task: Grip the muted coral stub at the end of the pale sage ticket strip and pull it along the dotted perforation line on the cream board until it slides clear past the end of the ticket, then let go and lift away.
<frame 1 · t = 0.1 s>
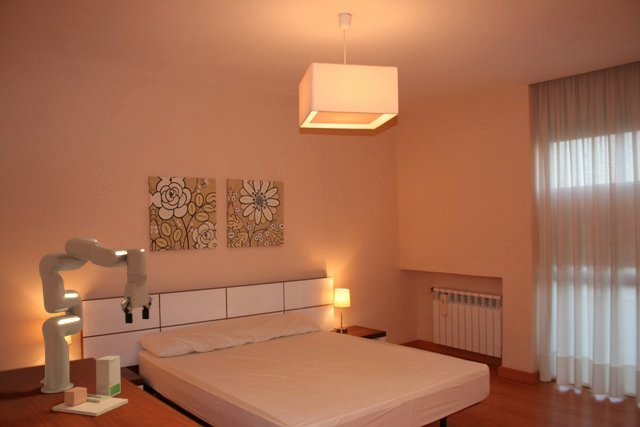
hand: (137, 321, 206), 31 cm above the table, tool pointing down, fingers open, 9 cm apart
stub: (75, 396, 198), point 4 cm above the table, slide at 0.0 cm
ticket board: (91, 406, 197), on the table
skincare box: (108, 395, 211), on the table
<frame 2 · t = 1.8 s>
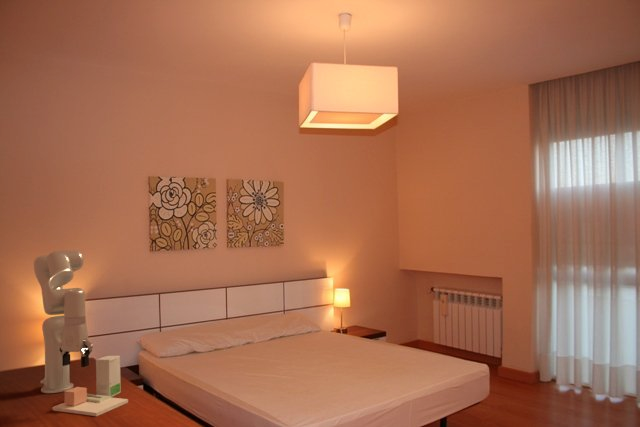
hand: (75, 365, 198), 16 cm above the table, tool pointing down, fingers open, 9 cm apart
nothing on the table moved.
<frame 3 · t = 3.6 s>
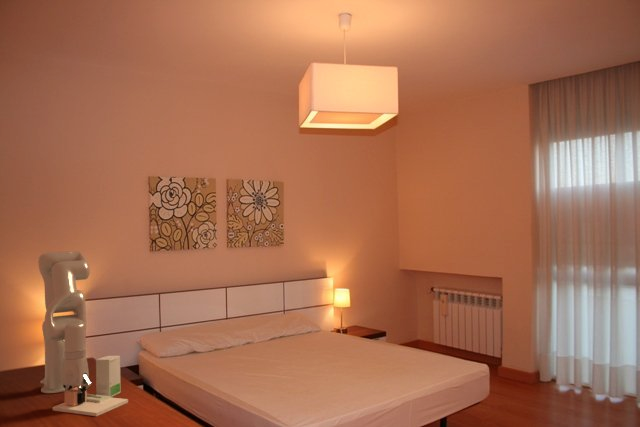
hand: (75, 401, 198), 2 cm above the table, tool pointing down, fingers closed on stub, 5 cm apart
stub: (75, 396, 198), point 4 cm above the table, slide at 0.0 cm, touching gripper
everything else where it was.
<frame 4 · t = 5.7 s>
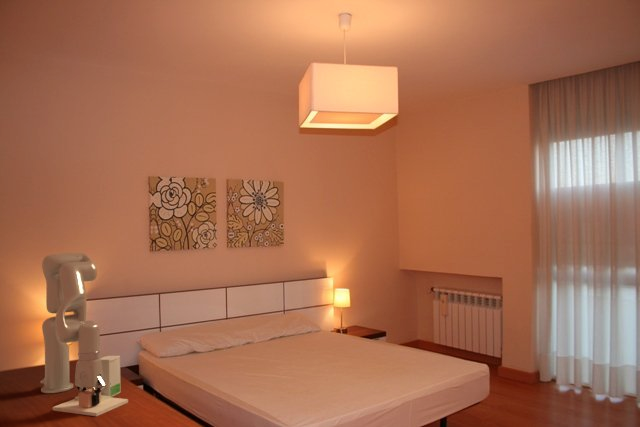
hand: (89, 403, 195), 2 cm above the table, tool pointing down, fingers closed on stub, 5 cm apart
stub: (89, 397, 195), point 4 cm above the table, slide at 7.3 cm, touching gripper
everything else where it was.
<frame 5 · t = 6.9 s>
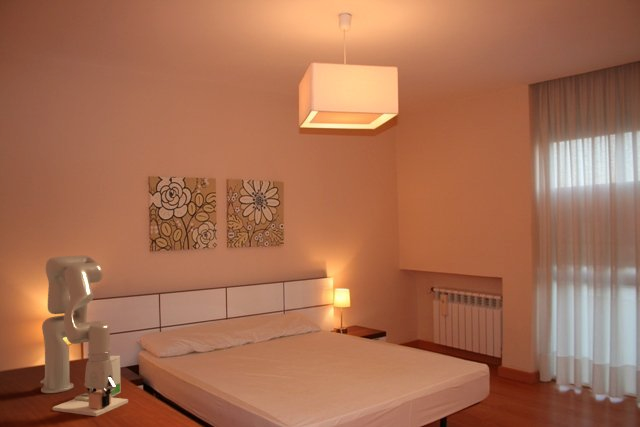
hand: (100, 404, 193), 2 cm above the table, tool pointing down, fingers closed on stub, 5 cm apart
stub: (99, 398, 193), point 4 cm above the table, slide at 12.3 cm, touching gripper
everything else where it was.
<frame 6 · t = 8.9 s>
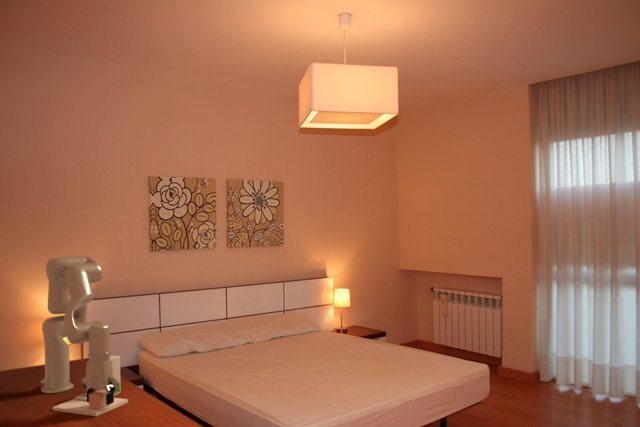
hand: (100, 402, 193), 3 cm above the table, tool pointing down, fingers open, 9 cm apart
stub: (100, 399, 193), point 4 cm above the table, slide at 12.5 cm
everything else where it was.
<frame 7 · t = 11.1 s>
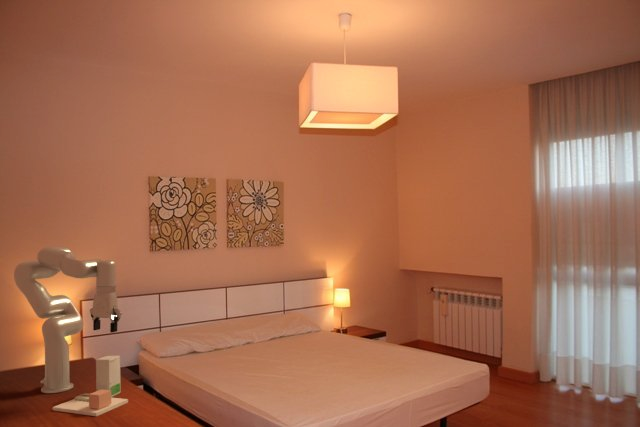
hand: (105, 330, 213), 26 cm above the table, tool pointing down, fingers open, 9 cm apart
nothing on the table moved.
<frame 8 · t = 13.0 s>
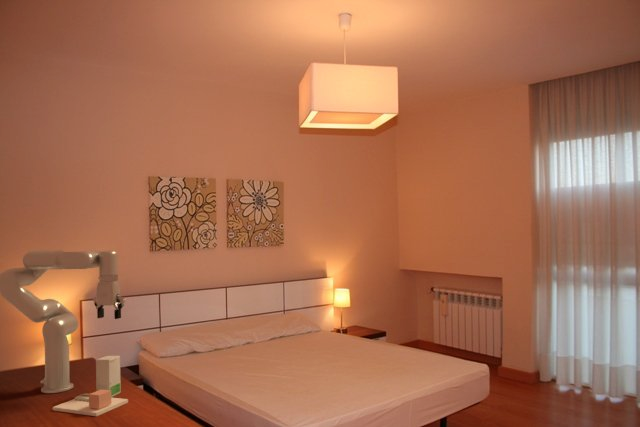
hand: (109, 318, 222), 30 cm above the table, tool pointing down, fingers open, 9 cm apart
nothing on the table moved.
at the end: stub slide at 12.5 cm; the gripper is holding nothing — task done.
